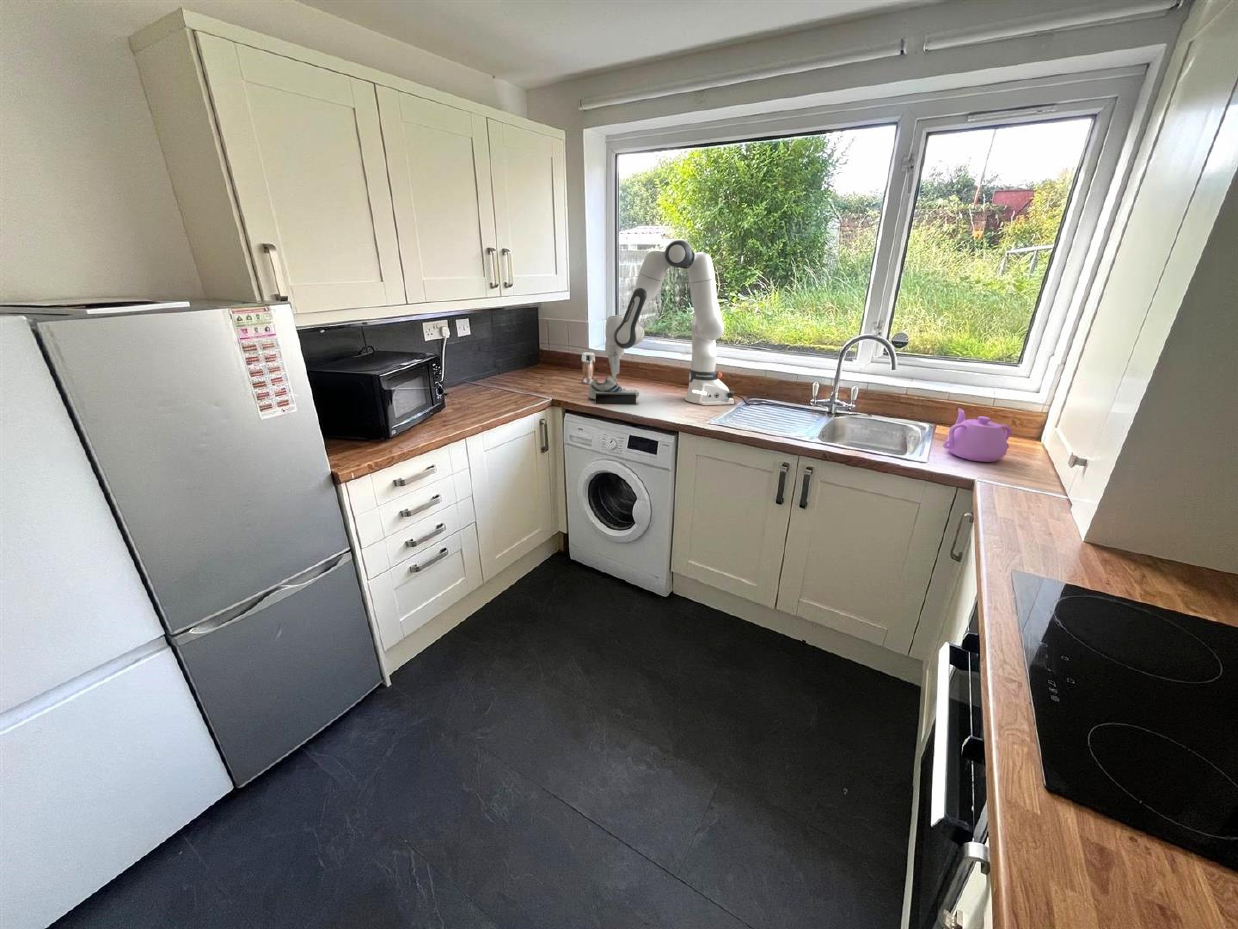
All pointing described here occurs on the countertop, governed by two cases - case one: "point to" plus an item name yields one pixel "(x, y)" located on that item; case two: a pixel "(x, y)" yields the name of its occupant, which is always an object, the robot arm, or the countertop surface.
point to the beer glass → (588, 367)
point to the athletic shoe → (606, 387)
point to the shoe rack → (615, 397)
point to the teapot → (977, 439)
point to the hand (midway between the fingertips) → (614, 379)
